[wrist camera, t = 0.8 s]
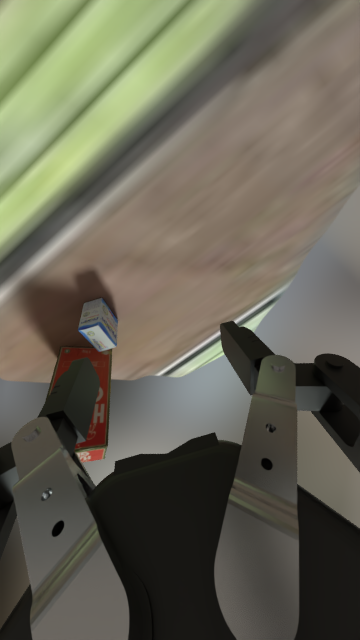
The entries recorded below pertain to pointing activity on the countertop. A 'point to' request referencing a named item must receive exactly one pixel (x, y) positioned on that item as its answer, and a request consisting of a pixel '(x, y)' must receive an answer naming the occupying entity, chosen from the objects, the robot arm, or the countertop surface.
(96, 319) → the medicine box
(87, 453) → the food packaging
